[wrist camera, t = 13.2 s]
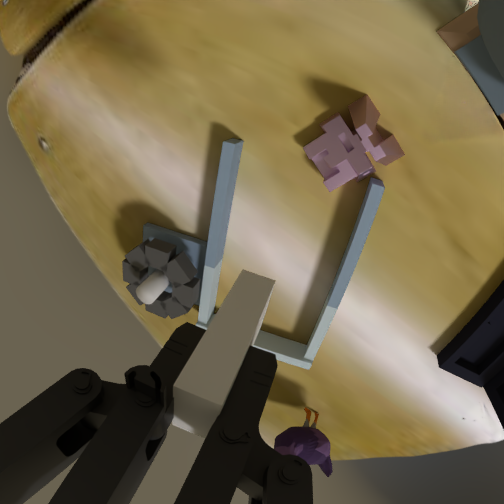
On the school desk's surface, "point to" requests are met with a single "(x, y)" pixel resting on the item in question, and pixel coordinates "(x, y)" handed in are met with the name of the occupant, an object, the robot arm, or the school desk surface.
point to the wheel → (172, 266)
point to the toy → (306, 444)
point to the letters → (351, 146)
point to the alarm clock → (481, 49)
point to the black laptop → (481, 351)
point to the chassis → (211, 255)
